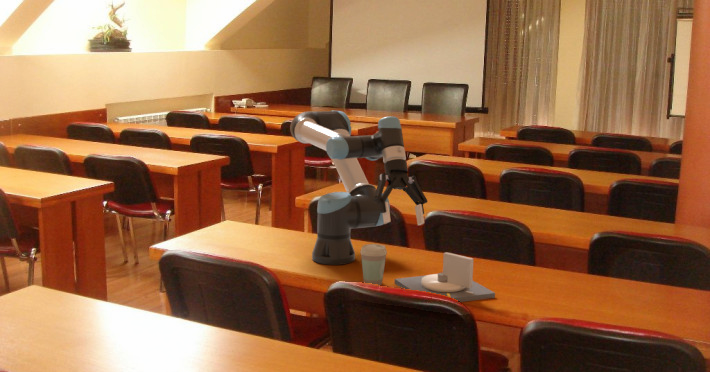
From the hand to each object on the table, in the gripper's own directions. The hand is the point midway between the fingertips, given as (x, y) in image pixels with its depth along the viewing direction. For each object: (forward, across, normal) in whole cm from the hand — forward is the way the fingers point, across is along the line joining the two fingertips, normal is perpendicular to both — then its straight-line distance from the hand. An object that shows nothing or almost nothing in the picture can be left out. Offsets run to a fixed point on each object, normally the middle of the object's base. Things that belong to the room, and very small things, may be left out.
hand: (404, 223), depth 255 cm
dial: (+22, +7, -8) cm, 25 cm away
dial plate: (+23, +7, -6) cm, 25 cm away
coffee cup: (+18, -8, +10) cm, 22 cm away
